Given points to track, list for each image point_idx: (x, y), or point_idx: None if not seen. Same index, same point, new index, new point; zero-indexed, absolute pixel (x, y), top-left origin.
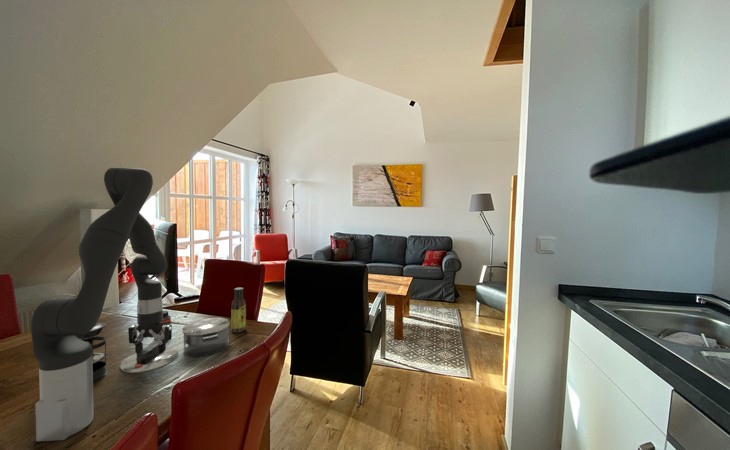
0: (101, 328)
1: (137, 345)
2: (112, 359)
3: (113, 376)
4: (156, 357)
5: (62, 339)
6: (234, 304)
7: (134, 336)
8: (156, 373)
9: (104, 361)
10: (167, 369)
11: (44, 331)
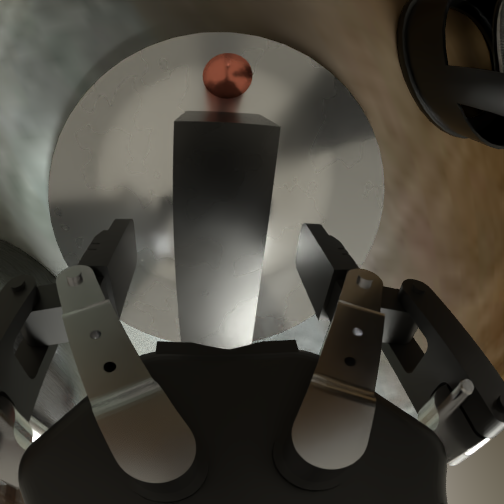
0: None
1: (342, 268)
2: (432, 241)
3: (347, 19)
4: (172, 221)
5: None
6: (2, 500)
7: (411, 356)
8: (64, 31)
9: (470, 125)
10: (24, 84)
11: None
